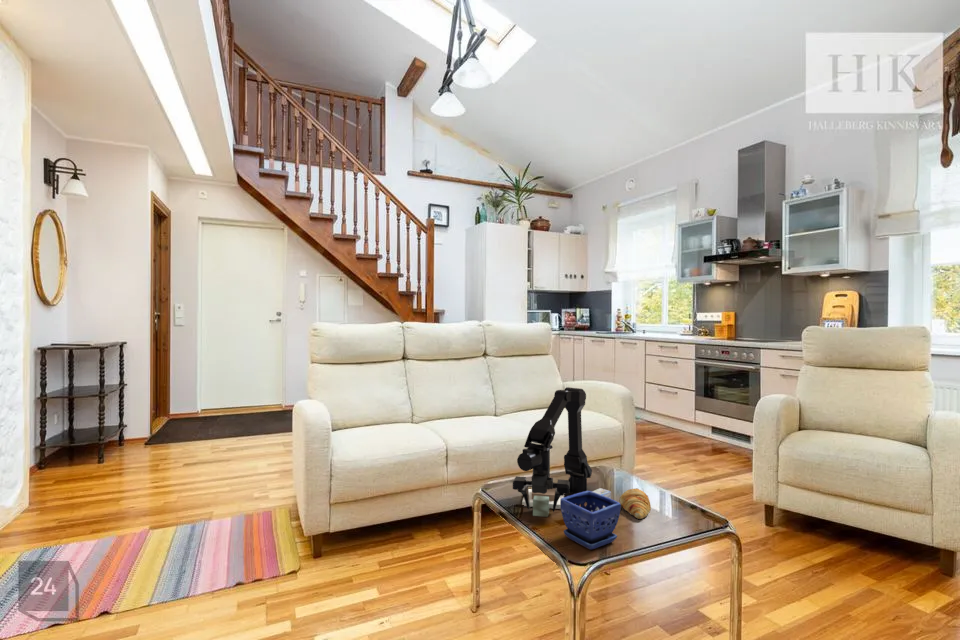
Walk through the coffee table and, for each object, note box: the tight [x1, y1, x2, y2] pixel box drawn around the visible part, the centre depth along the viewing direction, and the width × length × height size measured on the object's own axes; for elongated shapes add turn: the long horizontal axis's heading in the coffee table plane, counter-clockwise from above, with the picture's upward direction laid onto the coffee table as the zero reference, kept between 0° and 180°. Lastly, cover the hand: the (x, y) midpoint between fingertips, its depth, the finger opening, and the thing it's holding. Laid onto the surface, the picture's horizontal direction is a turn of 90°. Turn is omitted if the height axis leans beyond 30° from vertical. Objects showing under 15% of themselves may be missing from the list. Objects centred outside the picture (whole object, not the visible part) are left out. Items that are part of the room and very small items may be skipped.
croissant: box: [618, 488, 652, 520], centre depth 169 cm, size 21×10×8 cm, turn 172°
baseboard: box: [521, 488, 565, 510], centre depth 177 cm, size 14×14×4 cm
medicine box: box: [591, 487, 612, 512], centre depth 161 cm, size 8×4×9 cm, turn 134°
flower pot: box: [560, 490, 622, 550], centre depth 145 cm, size 13×13×12 cm
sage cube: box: [532, 496, 550, 518], centre depth 165 cm, size 5×5×5 cm
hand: (541, 510), depth 165 cm, fingers open, 8 cm apart
